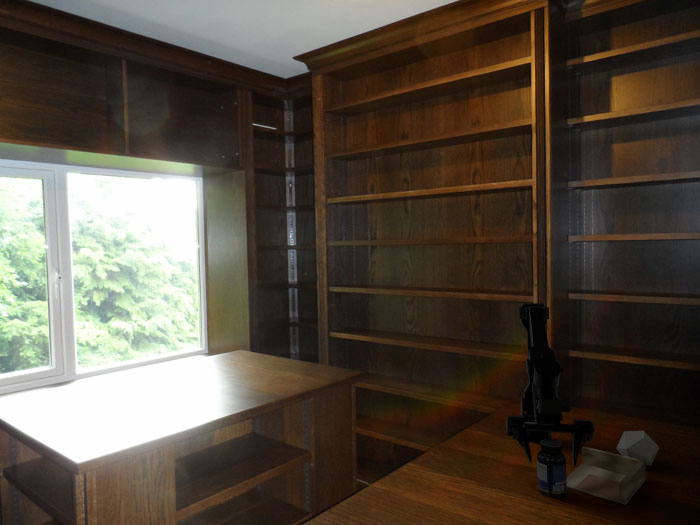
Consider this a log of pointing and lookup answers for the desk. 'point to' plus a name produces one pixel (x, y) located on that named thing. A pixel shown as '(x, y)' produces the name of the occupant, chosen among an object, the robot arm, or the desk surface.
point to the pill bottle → (551, 469)
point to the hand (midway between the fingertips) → (552, 464)
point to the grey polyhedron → (638, 446)
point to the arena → (608, 475)
